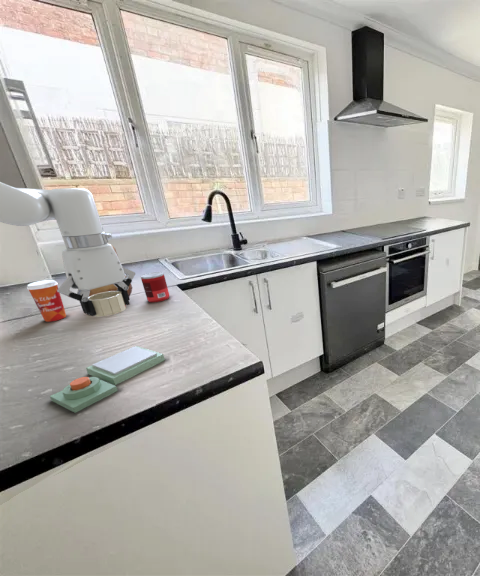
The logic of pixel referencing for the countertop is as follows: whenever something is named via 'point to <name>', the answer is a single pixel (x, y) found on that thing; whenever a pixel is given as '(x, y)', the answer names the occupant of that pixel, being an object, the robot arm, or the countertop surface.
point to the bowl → (108, 303)
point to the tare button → (80, 383)
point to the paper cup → (47, 299)
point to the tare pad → (83, 395)
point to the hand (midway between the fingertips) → (108, 308)
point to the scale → (125, 364)
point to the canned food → (155, 286)
